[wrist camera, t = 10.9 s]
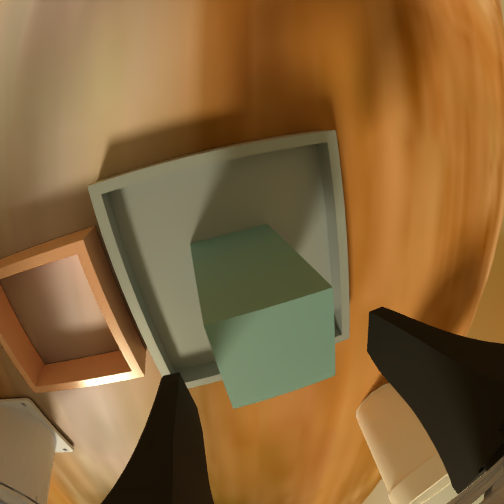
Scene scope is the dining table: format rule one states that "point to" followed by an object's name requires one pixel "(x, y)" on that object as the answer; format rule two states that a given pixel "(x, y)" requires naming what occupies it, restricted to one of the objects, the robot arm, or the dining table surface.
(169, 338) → the slate tray
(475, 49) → the dining table surface
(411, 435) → the foam cup
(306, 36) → the dining table surface
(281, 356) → the teal block
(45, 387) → the orange square frame
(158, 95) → the dining table surface
